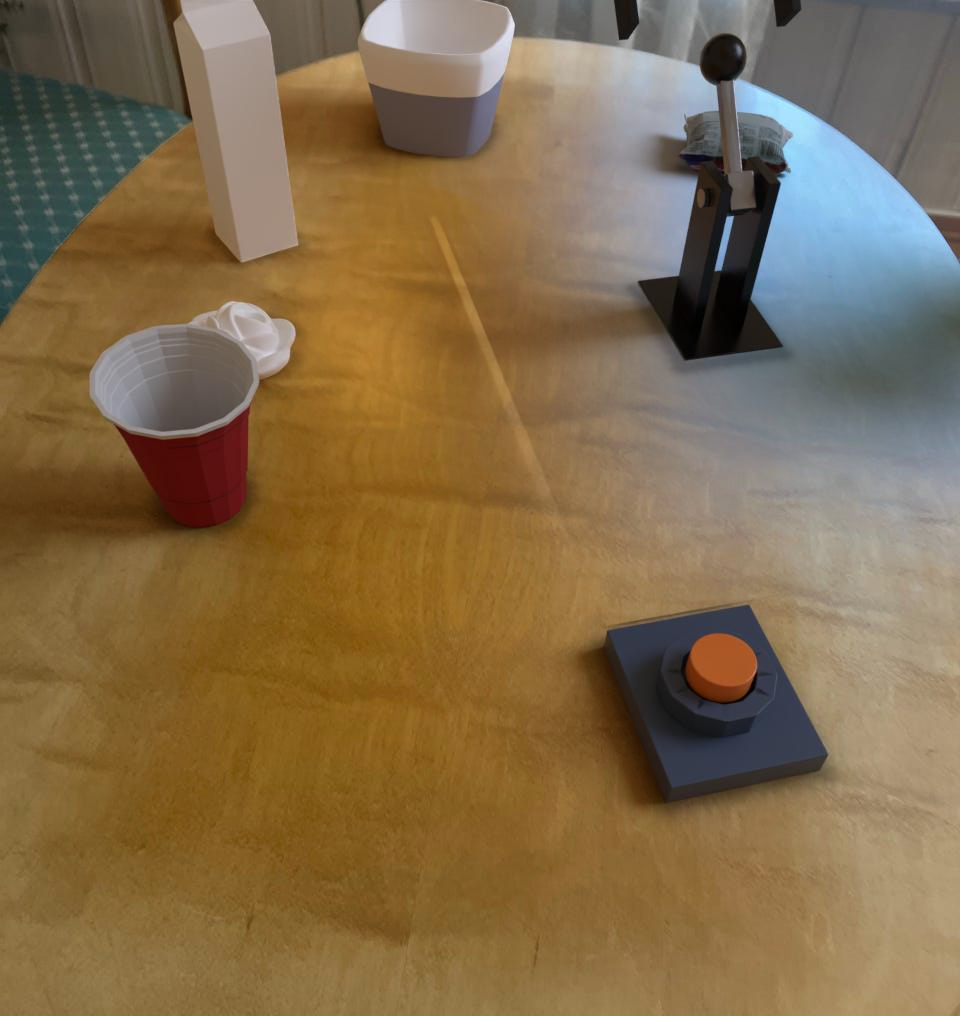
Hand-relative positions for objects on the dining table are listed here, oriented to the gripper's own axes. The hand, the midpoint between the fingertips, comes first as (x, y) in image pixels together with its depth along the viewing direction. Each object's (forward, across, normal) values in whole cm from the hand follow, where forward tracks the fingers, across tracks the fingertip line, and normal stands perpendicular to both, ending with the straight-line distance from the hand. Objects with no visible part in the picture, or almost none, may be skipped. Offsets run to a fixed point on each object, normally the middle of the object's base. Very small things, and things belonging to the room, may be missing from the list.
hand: (710, 25), depth 80 cm
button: (+47, +16, +23) cm, 54 cm away
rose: (+19, +41, -11) cm, 46 cm away
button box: (+49, +16, +20) cm, 56 cm away
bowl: (-6, +16, -35) cm, 39 cm away
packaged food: (+3, -14, -26) cm, 30 cm away
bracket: (+22, 0, -7) cm, 23 cm away
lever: (+8, 0, 0) cm, 8 cm away
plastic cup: (+31, +45, +2) cm, 55 cm away
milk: (+7, +38, -23) cm, 44 cm away
